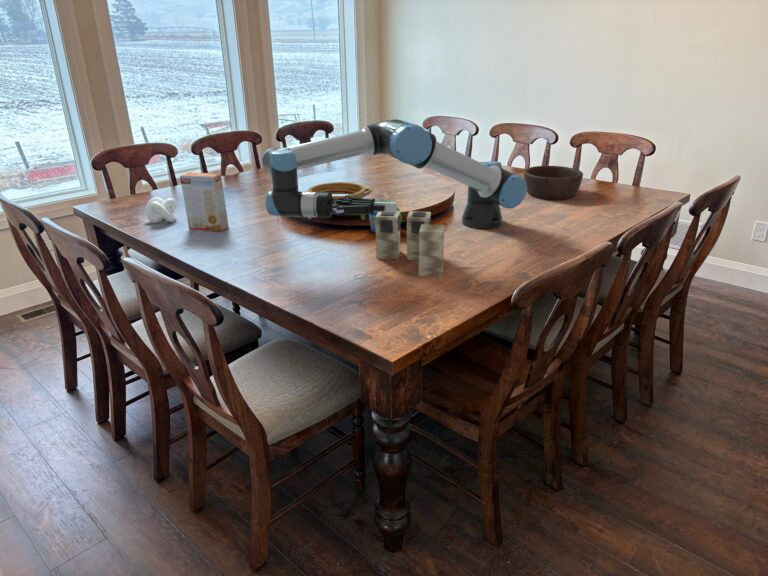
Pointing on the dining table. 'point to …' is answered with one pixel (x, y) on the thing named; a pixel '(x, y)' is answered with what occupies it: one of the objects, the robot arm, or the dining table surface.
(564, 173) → the wooden bowl
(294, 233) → the dining table surface
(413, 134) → the robot arm
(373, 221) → the snack cup
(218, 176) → the cracker box
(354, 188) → the collapsible colander
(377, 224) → the marked block 2
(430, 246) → the plain block
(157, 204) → the white knot sculpture
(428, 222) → the marked block 1
